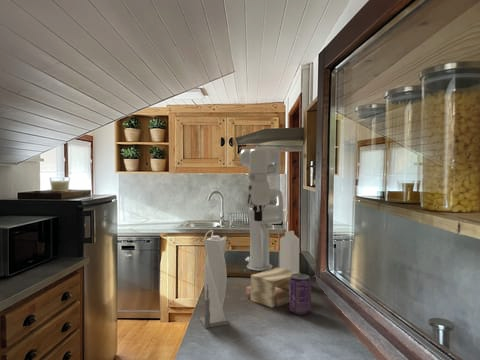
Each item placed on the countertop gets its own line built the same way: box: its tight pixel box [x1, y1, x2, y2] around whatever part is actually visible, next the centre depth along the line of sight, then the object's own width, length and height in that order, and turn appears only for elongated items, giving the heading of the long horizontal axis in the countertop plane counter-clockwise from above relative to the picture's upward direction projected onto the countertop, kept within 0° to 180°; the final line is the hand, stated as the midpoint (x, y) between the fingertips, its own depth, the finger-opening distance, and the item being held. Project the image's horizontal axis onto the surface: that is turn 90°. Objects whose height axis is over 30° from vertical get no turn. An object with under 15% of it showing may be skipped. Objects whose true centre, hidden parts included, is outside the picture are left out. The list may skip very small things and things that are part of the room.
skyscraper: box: [198, 229, 228, 329], centre depth 107 cm, size 8×8×28 cm
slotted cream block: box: [247, 267, 301, 308], centre depth 128 cm, size 14×16×9 cm
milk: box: [279, 230, 300, 273], centre depth 147 cm, size 6×6×22 cm
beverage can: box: [288, 273, 312, 316], centre depth 114 cm, size 7×7×12 cm
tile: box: [245, 285, 284, 299], centre depth 129 cm, size 16×7×3 cm, turn 47°
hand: (258, 220), depth 146 cm, fingers closed
